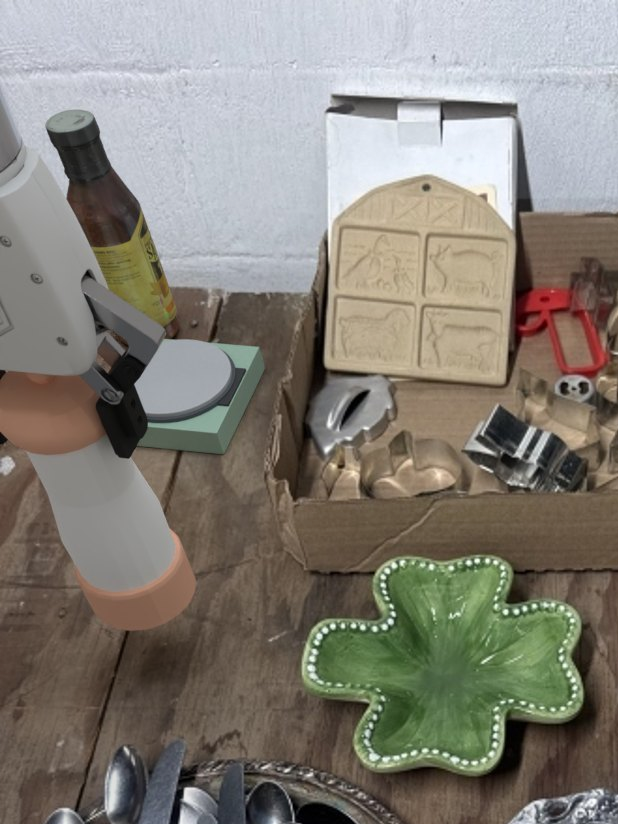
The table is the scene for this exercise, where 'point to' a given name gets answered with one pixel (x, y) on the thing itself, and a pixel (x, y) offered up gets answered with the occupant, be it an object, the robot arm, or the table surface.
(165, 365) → the scale
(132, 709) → the table surface
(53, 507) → the pepper shaker
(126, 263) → the sauce bottle
